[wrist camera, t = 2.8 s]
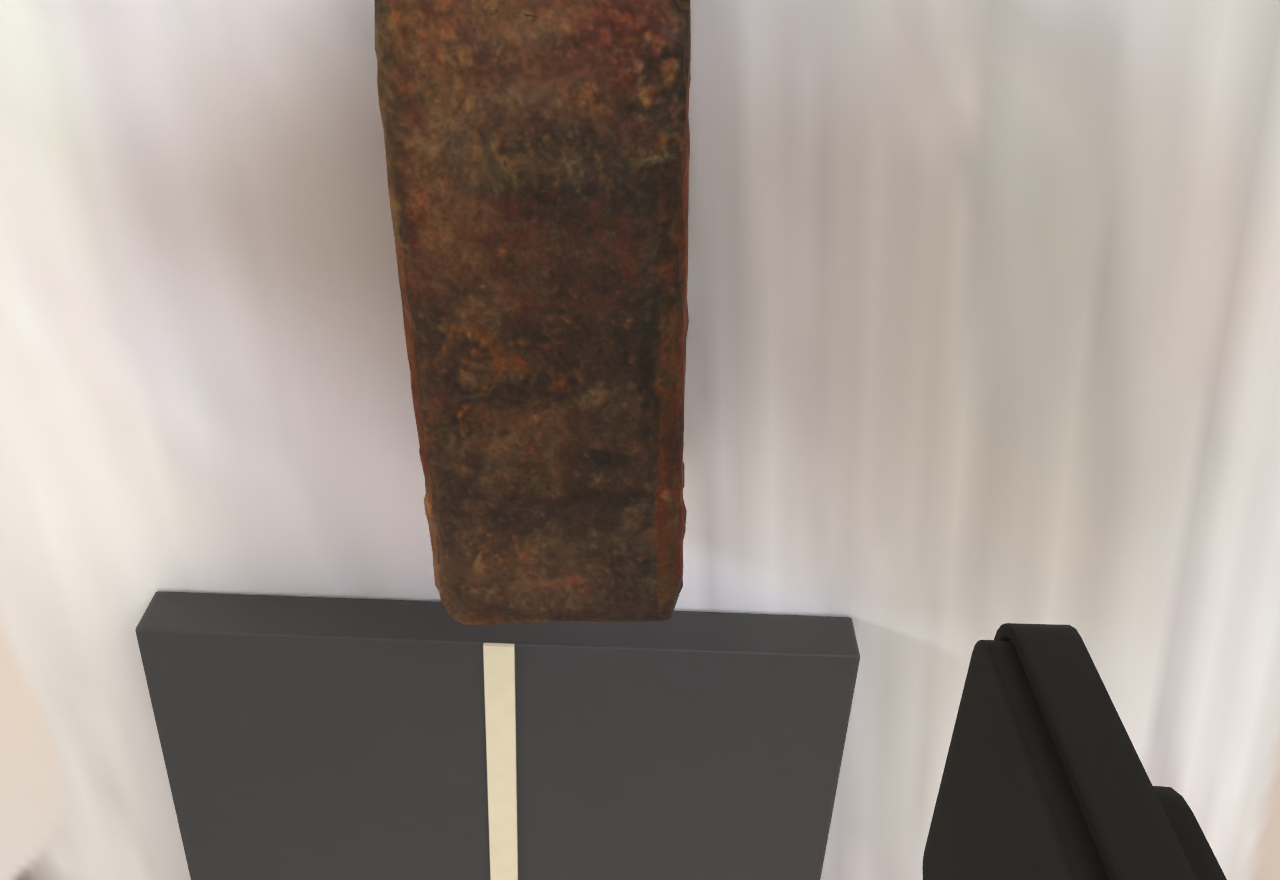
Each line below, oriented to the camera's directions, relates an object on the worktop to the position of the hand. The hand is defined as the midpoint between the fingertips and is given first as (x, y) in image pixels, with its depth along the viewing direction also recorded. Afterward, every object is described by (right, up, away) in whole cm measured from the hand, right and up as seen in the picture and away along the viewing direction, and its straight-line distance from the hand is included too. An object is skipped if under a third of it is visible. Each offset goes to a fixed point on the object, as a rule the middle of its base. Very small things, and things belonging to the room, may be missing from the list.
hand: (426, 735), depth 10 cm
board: (-1, -11, +20) cm, 23 cm away
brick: (+1, +7, +10) cm, 12 cm away
